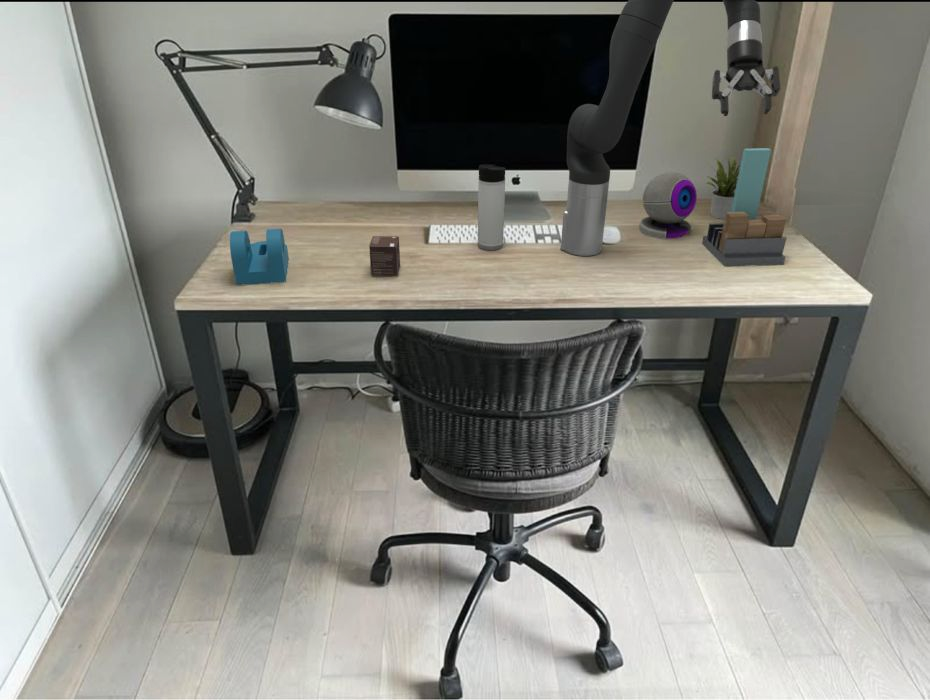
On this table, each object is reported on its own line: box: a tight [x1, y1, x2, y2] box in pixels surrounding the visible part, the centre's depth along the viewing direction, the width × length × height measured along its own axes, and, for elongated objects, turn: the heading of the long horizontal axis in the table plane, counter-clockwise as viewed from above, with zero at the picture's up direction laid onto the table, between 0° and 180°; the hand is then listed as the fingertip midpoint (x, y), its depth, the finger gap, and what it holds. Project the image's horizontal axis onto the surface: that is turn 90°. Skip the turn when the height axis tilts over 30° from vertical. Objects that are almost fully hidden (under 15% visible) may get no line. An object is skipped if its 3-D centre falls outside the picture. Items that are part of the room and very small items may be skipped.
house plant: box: [705, 154, 741, 220], centre depth 183 cm, size 14×14×16 cm
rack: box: [701, 222, 787, 267], centre depth 163 cm, size 14×14×6 cm
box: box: [368, 235, 401, 277], centre depth 153 cm, size 6×6×7 cm
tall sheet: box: [731, 147, 772, 220], centre depth 160 cm, size 2×6×22 cm, turn 94°
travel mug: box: [477, 163, 506, 251], centre depth 163 cm, size 6×7×20 cm
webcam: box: [638, 171, 698, 240], centre depth 174 cm, size 13×13×15 cm
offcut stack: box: [719, 212, 787, 253], centre depth 158 cm, size 3×13×9 cm, turn 94°
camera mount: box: [229, 228, 290, 286], centre depth 155 cm, size 18×10×10 cm, turn 10°
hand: (746, 113), depth 155 cm, fingers open, 8 cm apart
